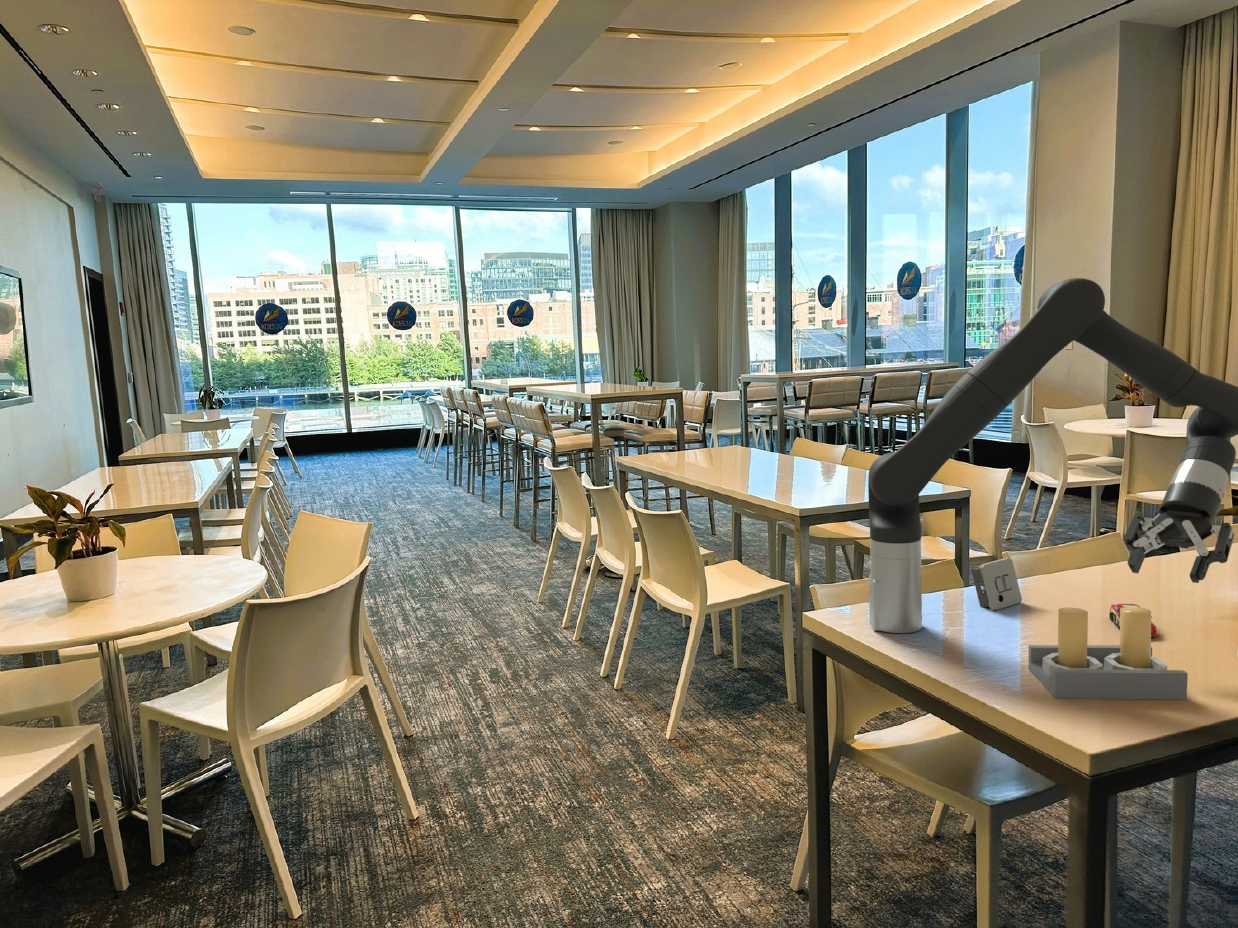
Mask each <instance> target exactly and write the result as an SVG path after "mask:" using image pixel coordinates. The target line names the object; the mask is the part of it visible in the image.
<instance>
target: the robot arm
mask: <svg viewBox="0 0 1238 928" xmlns="http://www.w3.org/2000/svg"><path fill="white" fill-rule="evenodd" d="M1105 296H1106V295H1105V293H1104V290H1103V288H1102V287H1101V285H1099V284H1098V283H1097V282H1095V281H1093V280H1091V279H1088V278H1082V277H1079V278H1076V277H1075V278H1074V277H1073V278H1068V279H1065V280H1062V281H1060V282H1059V281H1058V283H1056V284H1053V285H1051V286H1050V287H1048V288H1047V289H1046V290H1045V291H1044V292H1043V293H1042V294H1041V296H1040V298H1039V299H1038V301H1037V307H1036V308H1037V310H1036V311H1035V312H1034V313H1033V315H1032V316H1031V317H1030V318H1029V319H1028V321H1026V322H1025V324H1024V325H1023V326H1022V327H1021V328H1020V329H1019V330H1018V331H1017V332H1015V334H1013V335H1012V336H1011V337H1010V338H1009V339H1007V340H1006V341H1004V342H1002V344H1000V345H998V346H997V347H996V348H995V349H992V351H990V352H989V353H988V354H986V355H985V356H984V357H983V358H981V360H979V361H978V362H976V364H974V365H973V366H972V367H971V368H970V369H969V370H968V371H966V373H964V375H963V376H961V378H960V379H959V380H958V381H957V382H955V384H954V385H953V386H952V387H951V388H950V389H949V390H948V391H947V392H946V394H944V396H943V397H942V399H941V400H940V401H939V403H938V404H937V406H936V407H935V408H934V409H933V411H932V412H931V414H930V416H929V417H928V418H927V420H926V421H925V423H924V424H923V425H922V427H920V429H919V430H918V431H917V432H916V433H915V434H914V435H913V436H912V437H911V438H910V439H908V441H906V442H905V443H904V444H903V445H902V446H901V447H899V449H897V450H896V451H894V452H887V453H885V454H882V455H880V456H879V457H877V458H876V459H875V460H874V461H873V462H872V464H871V465H870V468H869V470H868V471H869V472H868V479H867V482H868V483H867V486H868V489H867V490H868V491H867V492H868V521H869V522H868V523H869V537H870V538H869V542H870V545H869V546H870V550H869V551H870V553H869V554H870V556H869V557H870V573H869V575H868V597H869V598H868V600H869V603H868V604H869V606H868V607H869V622H870V625H871V628H872V629H873V631H877V632H885V633H892V634H908V633H915V632H918V631H920V630H921V629H922V627H923V623H922V622H923V611H922V610H923V609H922V607H923V604H922V603H923V602H922V601H923V599H922V597H923V596H922V594H923V593H922V586H923V585H922V523H921V516H920V494H921V492H922V491H923V490H924V489H925V488H926V486H927V485H928V484H929V482H930V481H931V480H932V479H933V478H934V477H935V476H936V474H937V473H938V472H939V471H940V469H941V468H942V467H943V466H944V465H945V464H946V462H948V460H949V459H951V458H952V457H953V456H954V455H955V454H956V453H958V451H960V450H961V449H962V448H964V446H966V445H967V444H968V443H970V441H972V440H973V439H974V438H975V437H976V436H977V435H979V434H980V432H982V431H983V430H984V429H985V428H986V427H987V426H989V425H990V424H991V423H992V422H993V421H994V420H995V419H997V417H998V416H999V415H1000V414H1001V413H1002V412H1003V411H1004V410H1005V409H1006V408H1007V407H1008V406H1009V405H1010V404H1011V403H1012V402H1014V400H1015V399H1016V398H1017V397H1018V396H1019V395H1020V393H1022V392H1023V390H1025V388H1026V387H1027V386H1028V385H1029V384H1030V383H1031V382H1032V381H1033V379H1034V378H1036V376H1037V375H1038V374H1039V373H1040V372H1041V371H1042V369H1043V368H1044V367H1045V366H1046V365H1047V363H1049V362H1050V361H1051V360H1052V359H1053V358H1054V357H1056V356H1057V354H1059V353H1060V352H1061V351H1063V349H1065V348H1066V347H1067V346H1068V345H1070V344H1071V343H1072V342H1076V343H1078V344H1080V345H1082V346H1084V347H1085V348H1087V349H1089V350H1091V351H1092V352H1093V353H1095V354H1097V355H1099V356H1101V357H1102V358H1103V359H1105V360H1106V361H1108V362H1109V363H1110V364H1112V365H1113V366H1115V367H1116V368H1118V369H1119V370H1120V371H1122V372H1123V373H1124V374H1126V375H1127V376H1129V377H1130V378H1131V379H1133V380H1134V381H1136V383H1137V384H1140V385H1141V386H1142V387H1143V388H1145V389H1146V390H1148V391H1149V392H1150V393H1152V394H1153V395H1154V396H1156V397H1157V398H1159V399H1160V400H1162V401H1163V402H1164V403H1166V404H1167V405H1169V406H1171V407H1173V408H1184V407H1188V406H1189V407H1190V406H1194V407H1197V408H1196V409H1194V410H1193V412H1192V413H1191V415H1190V416H1189V418H1188V420H1187V424H1186V434H1185V435H1186V436H1185V437H1186V439H1185V441H1186V443H1185V444H1186V447H1185V450H1184V453H1183V455H1182V457H1181V459H1180V462H1179V464H1178V467H1177V469H1175V472H1174V473H1173V475H1172V477H1171V480H1170V482H1169V484H1168V488H1167V489H1166V492H1165V494H1164V496H1163V497H1164V498H1163V500H1162V502H1161V504H1160V507H1159V510H1158V513H1157V515H1156V516H1155V517H1153V518H1152V517H1146V516H1145V517H1144V516H1143V514H1142V513H1136V514H1135V515H1133V518H1132V520H1131V522H1130V523H1129V526H1128V528H1127V529H1126V532H1125V534H1124V536H1123V538H1122V542H1123V543H1124V545H1125V547H1126V549H1127V550H1128V551H1131V553H1130V554H1129V557H1128V560H1127V565H1128V567H1129V568H1130V570H1131V572H1132V574H1139V573H1140V570H1141V568H1142V565H1143V563H1144V560H1145V559H1146V558H1145V557H1146V554H1147V553H1149V552H1150V551H1152V550H1157V549H1159V548H1161V547H1163V546H1164V545H1165V546H1166V547H1179V548H1181V549H1189V548H1191V547H1193V548H1194V549H1195V551H1196V552H1197V554H1198V555H1196V556H1195V560H1194V562H1193V565H1192V568H1191V571H1190V573H1189V578H1190V580H1191V582H1192V583H1194V584H1195V583H1196V584H1199V583H1200V581H1203V580H1204V579H1205V578H1206V575H1207V573H1208V570H1209V567H1210V565H1211V564H1213V563H1220V564H1225V563H1227V562H1228V559H1229V556H1230V552H1231V548H1232V544H1233V540H1234V537H1235V533H1234V532H1235V531H1234V530H1233V527H1232V525H1231V523H1229V522H1224V523H1222V524H1220V525H1215V524H1214V522H1215V520H1216V517H1217V514H1218V513H1219V512H1218V511H1219V509H1220V507H1221V504H1222V500H1224V498H1225V494H1226V490H1227V484H1228V480H1229V477H1230V474H1231V471H1232V469H1233V466H1234V464H1235V460H1236V456H1237V452H1236V448H1235V446H1234V445H1233V444H1232V442H1230V441H1229V440H1230V439H1232V438H1233V437H1236V436H1238V386H1236V385H1234V384H1231V383H1228V382H1226V381H1224V380H1222V379H1221V380H1220V378H1216V377H1213V376H1211V375H1207V374H1205V373H1202V372H1200V371H1199V370H1198V369H1197V368H1195V367H1194V366H1192V365H1191V364H1190V363H1188V362H1187V361H1186V360H1184V359H1183V358H1181V357H1180V356H1178V355H1177V354H1175V353H1174V352H1172V351H1170V350H1169V349H1168V348H1166V347H1164V346H1162V345H1160V344H1158V343H1156V342H1155V341H1152V340H1150V339H1148V338H1147V337H1144V336H1142V335H1140V334H1139V333H1137V332H1135V331H1133V330H1131V328H1130V329H1129V328H1128V327H1126V326H1125V325H1123V324H1122V323H1120V322H1118V321H1117V320H1116V319H1115V318H1113V317H1112V316H1111V315H1109V314H1108V313H1107V312H1106V311H1105V310H1104V309H1105V306H1106V305H1105V304H1106V297H1105ZM1150 527H1152V528H1151V529H1150V530H1149V528H1150ZM1143 533H1144V535H1143ZM1213 534H1214V535H1215V537H1216V539H1217V540H1216V544H1215V547H1214V549H1213V550H1208V548H1207V546H1206V545H1205V544H1204V542H1203V541H1204V540H1205V539H1207V538H1209V537H1210V536H1212V535H1213ZM1142 535H1143V536H1142ZM1156 537H1158V538H1156Z"/></svg>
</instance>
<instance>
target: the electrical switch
mask: <svg viewBox="0 0 1238 928" xmlns="http://www.w3.org/2000/svg"><path fill="white" fill-rule="evenodd" d="M971 574H972V579H973V583H974V587H975V590H976V591H975V592H976V594H977V599H978V603H979V606H980V607H981V608H983V607H989V609H990V610H991V611H997V610H1000V609H1003V608H1007V607H1010V606H1014V605H1016V604H1020V603H1022V600H1023V597H1022V594H1021V589H1020V586H1019V582H1018V578H1017V574H1016V570H1015V567H1014V563H1013V559H1012V558H1011V557H1005V558H1002V559H996V560H994V561H990V562H986V563H983V564H980V565H979V567H976V568H971Z"/></svg>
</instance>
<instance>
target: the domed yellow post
mask: <svg viewBox="0 0 1238 928" xmlns="http://www.w3.org/2000/svg"><path fill="white" fill-rule="evenodd" d="M1140 607H1141V606H1140ZM1140 607H1123V608H1121V609H1120V630H1119V636H1120V637H1119V645H1120V665H1124V666H1128V667H1132V668H1151V647H1152V637H1151V621H1152V617H1151V616H1152V611H1151V610H1150V609H1149V608H1148V609H1147V608H1145V607H1141V608H1140Z"/></svg>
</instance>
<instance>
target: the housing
mask: <svg viewBox="0 0 1238 928" xmlns="http://www.w3.org/2000/svg"><path fill="white" fill-rule="evenodd" d="M1057 611H1058V614H1057V618H1058V620H1057V621H1058V622H1057V632H1058V633H1057V644H1051V645H1050V644H1046V645H1045V644H1038V645H1036V644H1029V645H1028V664H1027V665H1028V670H1029V672H1031V673H1032V674H1033V676H1034V677H1035V678H1036V679H1037V680H1038V681H1039V682H1040V684H1042V685H1043V686H1044V688H1045V689H1046V690H1047V691H1048V693H1050V694H1051V696H1052V697H1054V699H1083V700H1085V699H1086V700H1088V699H1089V700H1090V699H1091V700H1093V699H1094V700H1097V699H1099V700H1101V699H1102V700H1109V699H1110V700H1176V701H1177V700H1182V701H1183V700H1186V701H1187V700H1188V678H1189V677H1188V676H1189V675H1188V672H1187V671H1185V670H1183V669H1168V665H1167V664H1166V663H1165V662H1163V661H1162V660H1160V658H1157V657H1155V656H1153V647H1152V646H1151V668H1132V667H1128V666H1124V665H1120V644H1118V645H1117V644H1104V645H1103V644H1101V645H1100V644H1094V645H1093V644H1088V636H1089V635H1088V634H1089V633H1088V631H1089V628H1088V627H1089V624H1088V622H1089V612H1088V611H1087V610H1085V609H1082V608H1078V607H1070V606H1069V607H1067V606H1066V607H1061V608H1059V609H1058V610H1057Z"/></svg>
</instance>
